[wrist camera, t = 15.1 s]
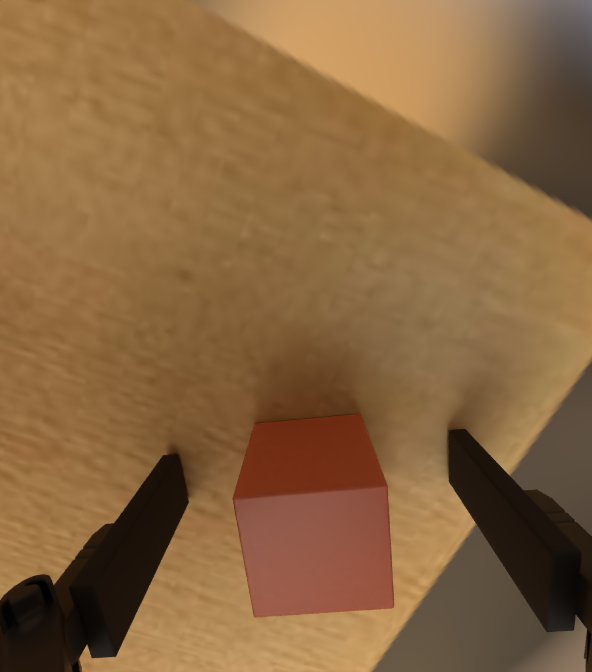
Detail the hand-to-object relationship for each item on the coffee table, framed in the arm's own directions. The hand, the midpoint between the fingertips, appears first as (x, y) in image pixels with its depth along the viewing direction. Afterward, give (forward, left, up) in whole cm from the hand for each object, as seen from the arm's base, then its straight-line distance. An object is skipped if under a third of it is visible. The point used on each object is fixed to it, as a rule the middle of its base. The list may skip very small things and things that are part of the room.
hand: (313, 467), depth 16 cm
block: (0, 0, 0) cm, 0 cm away
